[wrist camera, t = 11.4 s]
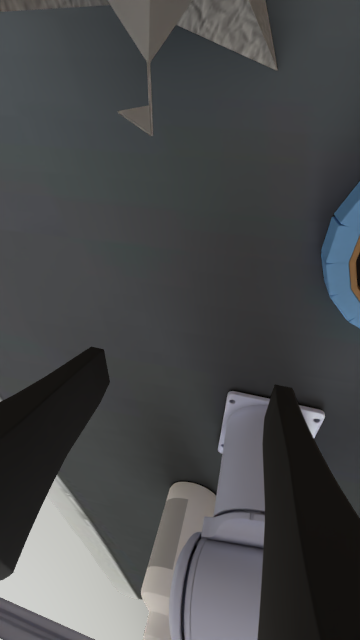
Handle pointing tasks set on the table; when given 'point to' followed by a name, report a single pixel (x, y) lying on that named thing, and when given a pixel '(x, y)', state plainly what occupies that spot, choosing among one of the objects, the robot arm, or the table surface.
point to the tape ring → (344, 257)
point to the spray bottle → (172, 550)
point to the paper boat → (187, 12)
